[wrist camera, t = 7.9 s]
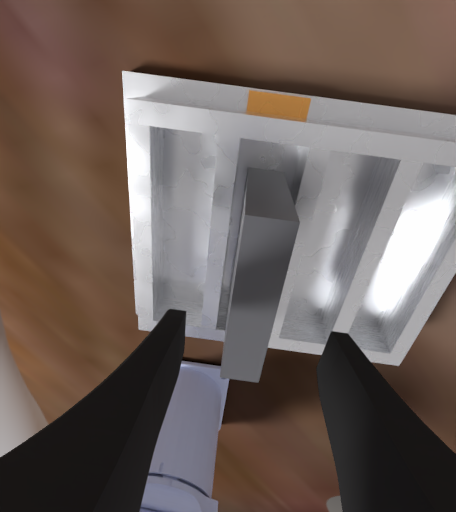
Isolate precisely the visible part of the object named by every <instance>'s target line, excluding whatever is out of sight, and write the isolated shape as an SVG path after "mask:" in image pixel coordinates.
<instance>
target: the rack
mask: <svg viewBox="0 0 456 512" xmlns="http://www.w3.org/2000/svg"><path fill="white" fill-rule="evenodd" d="M122 78H123V95H124V113H125V130H126V148H127V165H128V183H129V200H130V218H131V235H132V253H133V270H134V288H135V305H136V314H138V324H139V330H145V331H152V330H153V329H154V327H155V326H156V325H157V324H158V322H159V321H160V320H161V318H162V317H163V316H164V314H165V313H166V311H167V310H169V309H176V310H183V311H186V327H185V336H188V337H195V338H203V339H210V340H217V341H224V336H225V328H226V319H227V311H228V302H229V293H230V287H231V280H232V273H233V266H234V259H235V253H236V246H237V239H238V232H239V225H240V219H241V212H242V205H243V198H244V191H245V185H246V178H247V171H248V167H251V168H258V169H266V170H273V171H281V172H284V175H285V178H286V181H287V184H288V187H289V190H290V193H291V196H292V199H293V202H294V205H295V208H296V211H297V215H298V218H299V221H300V225H299V228H298V232H297V236H296V240H295V244H294V248H293V252H292V255H291V259H290V263H289V267H288V271H287V275H286V279H285V282H284V286H283V290H282V294H281V298H280V302H279V306H278V309H277V313H276V317H275V321H274V325H273V329H272V333H271V336H270V340H269V344H268V348H274V349H281V350H289V351H296V352H303V353H310V354H317V355H322V353H323V350H324V348H325V345H326V343H327V340H328V338H329V335H330V333H331V331H335V332H342V333H348V334H349V335H350V337H351V338H352V339H353V340H354V342H355V343H356V344H357V345H358V347H359V348H360V349H361V350H362V352H363V353H364V354H365V356H366V357H367V358H368V359H369V361H370V362H375V363H382V364H389V365H396V366H399V365H400V364H401V362H402V360H403V359H404V357H405V355H406V354H407V352H408V350H409V349H410V347H411V346H412V344H413V342H414V341H415V339H416V337H417V336H418V334H419V332H420V331H421V329H422V327H423V326H424V324H425V322H426V321H427V319H428V318H429V316H430V314H431V313H432V311H433V309H434V308H435V306H436V304H437V303H438V301H439V299H440V298H441V296H442V294H443V293H444V291H445V290H446V288H447V286H448V285H449V283H450V281H451V280H452V278H453V276H454V275H455V273H456V115H453V114H446V113H438V112H431V111H423V110H416V109H408V108H400V107H393V106H385V105H378V104H370V103H363V102H355V101H348V100H340V99H333V98H325V97H318V96H310V95H303V94H295V93H288V92H280V91H273V90H265V89H258V88H250V87H243V86H235V85H228V84H220V83H213V82H205V81H198V80H190V79H183V78H175V77H167V76H160V75H152V74H145V73H137V72H130V71H122Z"/></svg>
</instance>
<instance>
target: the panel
mask: <svg viewBox="0 0 456 512" xmlns="http://www.w3.org/2000/svg"><path fill="white" fill-rule="evenodd" d="M299 225H300V221H299V218H298V215H297V211H296V208H295V205H294V202H293V199H292V196H291V193H290V190H289V187H288V184H287V181H286V178H285V175H284V172H281V171H273V170H266V169H258V168H251V167H248V171H247V178H246V185H245V191H244V198H243V205H242V212H241V219H240V225H239V232H238V239H237V246H236V253H235V259H234V266H233V273H232V280H231V287H230V293H229V302H228V311H227V319H226V328H225V336H224V345H223V354H222V362H221V371H220V377H221V378H228V379H235V380H242V381H249V382H256V383H259V379H260V375H261V371H262V367H263V363H264V360H265V356H266V352H267V348H268V344H269V340H270V336H271V333H272V329H273V325H274V321H275V317H276V313H277V309H278V306H279V302H280V298H281V294H282V290H283V286H284V282H285V279H286V275H287V271H288V267H289V263H290V259H291V255H292V252H293V248H294V244H295V240H296V236H297V232H298V228H299Z"/></svg>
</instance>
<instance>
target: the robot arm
mask: <svg viewBox="0 0 456 512" xmlns="http://www.w3.org/2000/svg"><path fill="white" fill-rule="evenodd" d="M185 327H186V311H183V310H176V309H169V310H167V311H166V313H165V314H164V316H163V317H162V318H161V320H160V321H159V322H158V324H157V325H156V326H155V327H154V329H153V330H152V331H151V332H150V333H149V335H148V336H147V337H146V338H145V339H144V340H143V341H142V343H141V344H140V345H139V346H138V347H137V348H136V349H135V350H134V351H133V352H132V354H131V355H130V356H129V357H128V358H127V359H126V360H125V361H124V362H123V363H122V364H121V365H120V366H119V367H118V368H117V369H116V370H115V371H114V372H113V373H111V374H110V375H109V376H108V377H107V378H106V379H105V380H104V381H103V382H102V383H101V384H99V385H98V386H97V387H96V388H95V389H94V390H93V391H91V392H90V393H89V394H88V395H87V396H85V397H84V398H83V399H82V400H80V401H79V402H78V403H77V404H75V405H74V406H73V407H72V408H70V409H69V410H68V411H67V412H65V413H64V414H63V415H61V416H60V417H59V418H57V419H56V420H55V421H53V422H52V423H50V424H49V425H48V426H46V427H45V428H43V429H42V430H40V431H39V432H38V433H36V434H35V435H33V436H32V437H30V438H29V439H28V440H26V441H25V442H23V443H22V444H21V445H19V446H17V447H16V448H14V449H13V450H11V451H10V452H8V453H7V454H5V455H3V456H2V457H0V512H217V510H218V501H217V500H213V499H211V497H212V487H213V478H214V468H215V458H216V448H217V439H218V430H220V428H221V423H222V417H223V412H224V406H225V400H226V395H227V389H228V384H229V379H228V378H221V377H220V371H221V366H216V365H209V364H202V363H195V362H187V361H182V358H183V353H184V345H185ZM316 369H317V380H318V389H319V396H320V401H321V405H322V410H323V414H324V419H325V423H326V427H327V431H328V435H329V440H330V444H331V448H332V452H333V457H334V461H335V466H336V471H337V476H338V482H339V489H340V496H341V503H342V510H343V512H456V454H455V453H454V452H453V451H452V450H451V449H450V448H449V447H448V446H447V445H446V444H445V443H444V442H443V441H442V440H441V439H440V438H439V437H438V436H436V435H435V434H434V433H433V432H432V431H431V430H430V429H429V428H428V427H427V426H426V425H425V424H424V423H423V422H422V420H421V419H420V418H419V417H418V416H417V415H416V414H415V413H414V412H413V411H412V410H411V409H410V408H409V406H408V405H407V404H406V403H405V402H404V401H403V400H402V399H401V398H400V397H399V395H398V394H397V393H396V392H395V391H394V390H393V388H392V387H391V386H390V385H389V384H388V383H387V381H386V380H385V379H384V378H383V377H382V375H381V374H380V373H379V372H378V370H377V369H376V368H375V367H374V366H373V364H372V363H371V362H370V361H369V359H368V358H367V357H366V356H365V354H364V353H363V352H362V350H361V349H360V348H359V347H358V345H357V344H356V343H355V342H354V340H353V339H352V338H351V337H350V335H349V334H348V333H342V332H335V331H331V333H330V335H329V338H328V340H327V343H326V345H325V348H324V350H323V353H322V355H321V358H320V361H319V363H318V366H317V368H316Z"/></svg>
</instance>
